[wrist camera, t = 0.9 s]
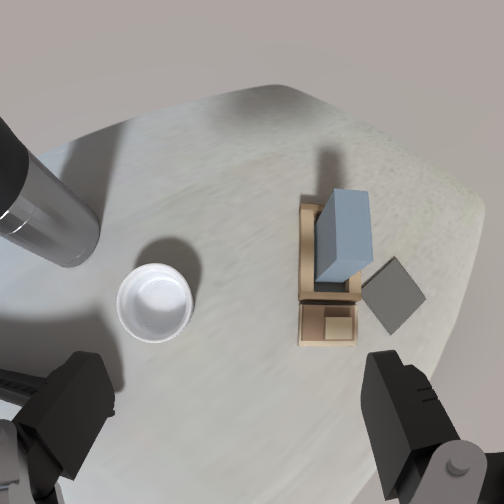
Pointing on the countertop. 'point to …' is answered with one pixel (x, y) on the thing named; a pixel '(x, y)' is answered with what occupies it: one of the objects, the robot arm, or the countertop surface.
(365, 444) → the countertop surface
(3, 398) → the magazine
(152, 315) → the ramekin
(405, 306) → the pad
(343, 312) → the rack
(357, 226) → the blue-grey rectangular block
